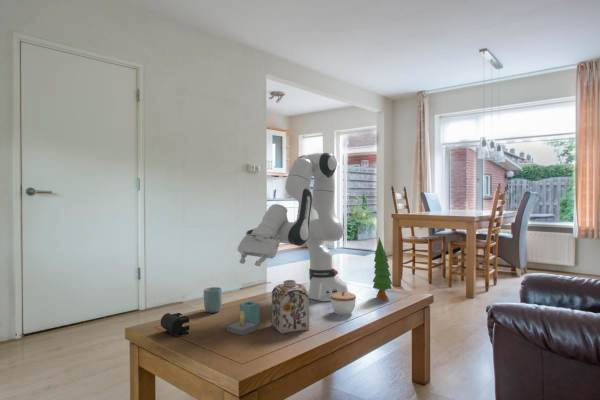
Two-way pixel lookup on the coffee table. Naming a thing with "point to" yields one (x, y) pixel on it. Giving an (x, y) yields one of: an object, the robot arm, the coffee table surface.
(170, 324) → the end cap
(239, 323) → the shaft block
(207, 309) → the cup
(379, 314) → the coffee table surface
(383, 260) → the decorative tree
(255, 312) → the collar
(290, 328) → the decorative jar
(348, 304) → the lidded jar
